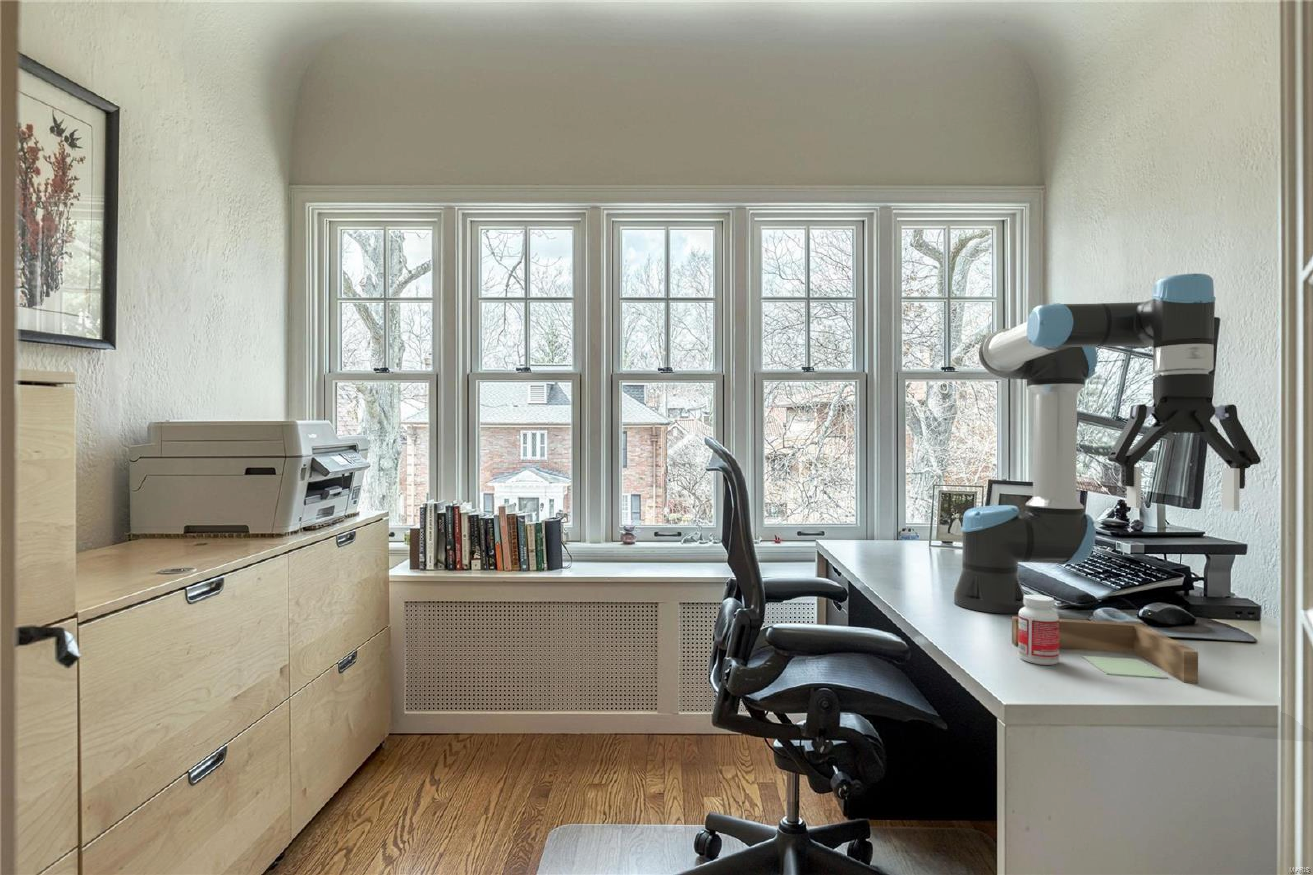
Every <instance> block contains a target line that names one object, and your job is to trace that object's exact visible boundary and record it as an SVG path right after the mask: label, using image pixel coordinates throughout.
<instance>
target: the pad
mask: <svg viewBox="0 0 1313 875" xmlns="http://www.w3.org/2000/svg"><path fill="white" fill-rule="evenodd" d="M1081 657H1082V658H1083V659H1084V660H1086V661H1087V662H1088V663H1089V664H1091V665H1093V666H1094V667H1095V668H1096V669H1099V670H1100V671H1102V672H1103V673H1104V674H1106V675H1110V676H1124V677H1125V676H1126V677H1128V676H1129V677H1141V678H1143V677H1144V678H1156V679H1157V678H1159V679H1169V677H1168V676H1167V675H1165V674H1163V673H1161V672H1160V671H1158V670H1157V669H1156V668H1153V667H1152V666H1150V665H1148V664H1146V663H1145V662H1144V661H1142V660H1140V659H1137V658H1122V657H1120V658H1119V657H1109V656H1108V657H1106V656H1104V657H1103V656H1091V655H1090V656H1089V655H1082V656H1081Z"/></svg>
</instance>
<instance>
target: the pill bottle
mask: <svg viewBox="0 0 1313 875" xmlns="http://www.w3.org/2000/svg"><path fill="white" fill-rule="evenodd" d="M1023 603H1024V605H1025V607H1023V608H1021V609H1020V610H1019V613H1018V617H1019V637H1018V641H1019V642H1018V646H1017V647H1018V649H1017V650H1018V656H1019V658H1020V659H1021V660H1023V661H1025V662H1028V663H1032V664H1035V665H1040V666H1041V665H1043V666H1052V665H1056V664H1058V663H1059V658H1060V649H1059V619H1060V616H1059V614H1058V613H1057V612H1056V611H1054V610H1053V608H1054V607H1055V599H1054V597H1052V596H1048V595H1042V594H1040V595H1039V594H1024V599H1023Z"/></svg>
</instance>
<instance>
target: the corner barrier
mask: <svg viewBox="0 0 1313 875" xmlns="http://www.w3.org/2000/svg"><path fill="white" fill-rule="evenodd" d="M1018 637H1019V616H1012V617H1011V644H1013V645H1014V646H1015V647H1018V642H1019V641H1018ZM1059 650H1076V651H1077V650H1079V651H1092V652H1093V651H1094V652H1111V653H1112V652H1113V653H1125V654H1126V653H1127V654H1134V655H1136V656H1138V657H1140V658H1141V659H1143V660H1145V661H1147V662H1148V663H1150V664H1152V665H1153V666H1155V667H1156V668H1159V669H1160V670H1161V671H1163V672H1166V673H1167V674H1169V675H1171V676H1172V677H1174V678H1176V679H1177V680H1179V681H1180V682H1183V683H1186V684H1187V683H1189V684H1199V651H1197V650H1195V649H1194V648H1191V647H1189V646H1187V645H1184V644H1183V643H1181V642H1179V641H1177V640H1175V639H1172V638H1170V637H1168V636H1166V635H1164V634H1163V633H1161V632H1159V631H1156V630H1155V629H1152V628H1150V627H1148V626H1146V625H1144V624H1143V623H1138V622H1124V621H1123V622H1122V621H1103V620H1086V619H1085V620H1082V619H1081V620H1080V619H1067V618H1065V619H1063V618H1059Z"/></svg>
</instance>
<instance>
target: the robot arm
mask: <svg viewBox="0 0 1313 875" xmlns="http://www.w3.org/2000/svg"><path fill="white" fill-rule="evenodd" d="M1153 286H1154V287H1153V293H1152V296H1151V298H1152V299H1150V300H1147V301H1139V302H1101V303H1059V302H1058V303H1057V302H1055V303H1051V304H1041V305H1040V304H1039V305H1037V306H1035V307H1034V308H1033V309H1032V310H1031V313H1030V314H1029V316H1028V318H1027V321H1025V322H1023V323H1021V324H1019V325H1016V326H1014V327H1013V328H1001V329H998V330H995V331H993V332H992V333H990V334H988V335H987V336H985V337H984V339H983V340H982V342H981V343H980V346H979V350H978V358H979V362H980V364H981V366H982V367H983V369H985V370H986V371H987V372H989V373H991V374H992V375H994V376H996V377H999V378H1003V379H1008V380H1026V389H1027V390H1028V391H1029V392H1030V393H1032V395H1033V439H1032V440H1033V444H1032V446H1033V450H1032V452H1033V453H1032V454H1033V457H1032V458H1033V460H1032V461H1033V462H1032V466H1033V467H1032V470H1033V471H1032V497H1031V498H1030V499H1029V500H1028V501H1027V502H1026V503H1025V510H1024V511H1020V509H1019V508H1018V506H1016V505H1010V504H1004V505H999V504H998V505H996V504H995V505H985V506H977V507H972V508H968V509H967V510H966V511H965V512H964V514H963V517H962V526H961V531H962V551H961V553H962V563H961V564H962V569H961V574H960V576H959V578H958V581H957V583H956V586H955V589H954V594H953V603H954V604H955V605H957V606H959V607H961V608H965V609H969V610H973V611H976V612H977V611H978V612H984V613H992V614H993V613H994V614H1019V610H1020V609H1021V608H1023V607H1025V605H1024V603H1023V599H1024V595H1025V593H1024V590H1023V588H1022V587H1023V586H1022V584H1021V581H1020V578H1019V563H1028V564H1029V563H1030V564H1033V563H1034V564H1056V565H1060V566H1063V565H1077V564H1082V563H1083V562H1085V561H1086V560H1087V559H1088V558H1089V557H1090V556H1091V554H1092V552H1093V550H1094V546H1095V543H1096V533H1097V531H1096V526H1095V525H1094V524H1095V522H1094V519H1093V518H1092V516H1091V515H1089V514H1088V513H1085V506H1084V504H1082V503H1081V502H1080V501H1078V499H1077V449H1078V448H1077V446H1078V445H1077V442H1078V441H1077V437H1078V435H1077V434H1078V429H1077V428H1078V423H1077V422H1078V394H1079V392H1080V391H1082V390H1083V389H1084V388H1085V387H1086V381H1087V380H1088V379H1091V378H1092V377H1093V376H1094V374H1095V372H1096V368H1097V366H1098V353H1097V348H1098V347H1102V348H1103V347H1121V348H1124V349H1126V350H1127V349H1128V350H1137V349H1146V348H1150V347H1152V351H1153V354H1152V362H1153V363H1152V373H1154V374H1156V375H1157V376H1154V378H1152V399H1153V404H1152V406H1151V405H1150V406H1149V405H1146V404H1144V403H1142V404H1141V403H1140V404H1133V405H1132V406H1131V407H1130V409H1129V410H1130V411H1129V418H1128V420H1127V422H1126V423H1125V425H1124V427H1123V429H1122V431H1121V433H1120V434H1119V436H1118V438H1117V440H1115V443H1114V445H1113V447H1112V448H1111V450H1110V452H1109V454H1107V455H1108V456H1107V460H1108V461H1109V462H1113V463H1116V464H1117V465H1119V466H1120V468H1121V469H1120V470H1121V474H1120V475H1121V477H1120V480H1121V481H1120V482H1121V485H1122V487H1126V507H1127V508H1133V509H1142V466H1135V465H1137V464H1138V463H1139V462H1140V460H1141V459H1143V457H1144V456H1146V454H1147V453H1149V451H1150V450H1151V449H1152V448H1153V447H1154V446H1155V445H1156V444H1157V443H1158V442H1159V441H1160V440H1161V439H1162V438H1163V436H1166V435H1167V434H1181V433H1183V434H1196V435H1198V436H1199V437H1201V438H1202V439H1203V440H1204V441H1205V442H1206V443H1207V445H1209V446H1210V448H1211V449H1212V450H1213V451H1214V452H1215V453H1216V454H1217V455H1218V456H1219V457H1220V458H1221V459H1222V461H1224V462H1225V464H1226V465H1227V466H1228V467H1222V471H1221V472H1222V475H1221V476H1222V477H1221V479H1222V480H1221V484H1222V485H1221V491H1222V492H1221V493H1222V494H1221V509H1222V510H1226V511H1227V510H1228V511H1232V512H1233V511H1234V512H1239V511H1240V490H1241V489H1242V490H1244V488H1245V487H1246V469H1249V468H1250V467H1251V466H1253V465H1259V464H1260V463H1261V461H1262V459H1261V457H1260V456H1259V454H1258V452H1257V450H1256V448H1255V446H1254V445H1253V443H1252V441H1251V439H1250V437H1249V436H1248V434H1247V432H1246V431H1245V429H1244V426H1243V425H1242V423H1241V422H1240V419H1239V417H1238V409H1237V406H1236V405H1235V404H1233V403H1232V404H1231V403H1230V404H1221V405H1218V406H1214V404H1213V397H1214V394H1215V392H1214V390H1215V389H1214V379H1215V378H1214V375H1213V374H1210V372H1211V371H1213V370H1214V359H1215V358H1214V350H1215V349H1214V340H1215V311H1216V310H1215V307H1216V297H1215V291H1214V290H1215V289H1214V286H1215V285H1214V279H1213V278H1212V277H1211V276H1210V275H1208V274H1205V273H1183V274H1176V275H1175V274H1174V275H1170V276H1166V277H1163V278H1160V279H1159V280H1156V282H1155V283H1154V285H1153ZM1096 347H1097V348H1096ZM1150 415H1151V416H1152V417H1153V419H1154V420H1155V421H1154V423H1153V424H1151V426H1150V427H1149V428H1148V431H1147V432H1145V434H1144V435H1143V436H1142V437H1141V438H1140V439H1139V440H1138V441H1137V442H1136V443H1135V444H1134V445H1133V443H1134V441H1135V440H1136V438H1137V436H1138V434H1139V433H1140V431H1141V429H1142V427H1143V426H1144V423H1145V421H1146V419H1149V417H1150ZM1213 417H1215V418H1216V419H1217V420H1218V421H1219V423H1220V425H1221V428H1222V429H1223V431H1224V433H1225V435H1226V436H1227V439H1228V440H1229V442H1230V443H1229V442H1228V440H1226V439H1225V437H1224V436H1222V434H1221V433H1220V432H1219V430H1218V428H1217V427H1216V425H1215V424H1213V422H1212V421H1211V419H1212V418H1213ZM1132 445H1133V446H1132ZM1130 448H1131V449H1130Z"/></svg>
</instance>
